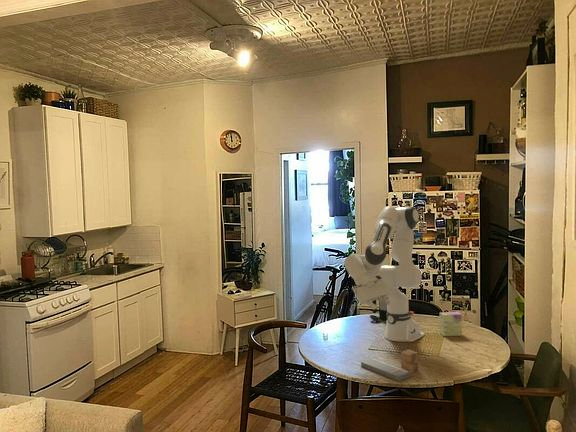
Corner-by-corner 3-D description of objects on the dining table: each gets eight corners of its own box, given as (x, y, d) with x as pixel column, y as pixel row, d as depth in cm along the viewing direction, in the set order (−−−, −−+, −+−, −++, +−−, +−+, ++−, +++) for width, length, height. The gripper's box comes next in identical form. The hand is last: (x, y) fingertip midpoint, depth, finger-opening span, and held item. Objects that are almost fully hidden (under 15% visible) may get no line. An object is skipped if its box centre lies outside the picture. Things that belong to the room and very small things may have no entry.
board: (373, 362, 216) (373, 357, 216) (411, 376, 198) (411, 371, 198) (361, 366, 211) (361, 361, 211) (398, 381, 193) (398, 376, 193)
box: (457, 332, 255) (457, 311, 254) (462, 335, 249) (461, 314, 249) (439, 333, 255) (439, 312, 254) (443, 336, 249) (442, 314, 248)
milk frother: (395, 317, 290) (394, 293, 290) (393, 324, 275) (392, 299, 274) (372, 316, 294) (371, 293, 294) (369, 323, 279) (368, 298, 279)
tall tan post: (408, 367, 208) (408, 349, 208) (417, 370, 204) (417, 352, 204) (401, 369, 205) (401, 352, 205) (410, 373, 201) (410, 355, 201)
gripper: (354, 283, 216) (370, 307, 210) (383, 275, 229) (400, 298, 222) (347, 291, 220) (364, 315, 213) (377, 282, 233) (393, 305, 226)
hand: (382, 306), depth 218 cm, fingers open, 8 cm apart
